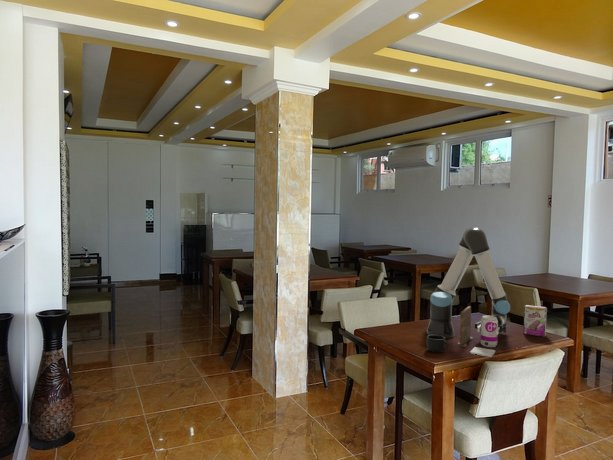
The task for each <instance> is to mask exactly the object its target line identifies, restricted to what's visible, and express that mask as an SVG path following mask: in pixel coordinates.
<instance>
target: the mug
mask: <svg viewBox="0 0 613 460" xmlns="http://www.w3.org/2000/svg"><path fill="white" fill-rule="evenodd" d="M426 349H427V350H428V351H430V352H431V351H432V352H431V353H434V352H440V353H442V352H444V351H448V350H449V344H448V342H447V341H446V338H445V337H443V336H440V335H428V334H427V336H426Z"/></svg>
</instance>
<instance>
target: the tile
mask: <svg viewBox="0 0 613 460" xmlns="http://www.w3.org/2000/svg"><path fill="white" fill-rule="evenodd" d="M469 353H471V355H475V354H477V356H482V357H488V358H492V357H493V356H494V355H495V353H496V349H490V348H484V347H483V348H482V347H478V346H477V347H476V346H474V347H473V348H472V349H471V350H470V351H469Z"/></svg>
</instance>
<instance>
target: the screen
mask: <svg viewBox="0 0 613 460" xmlns="http://www.w3.org/2000/svg"><path fill="white" fill-rule="evenodd" d="M471 317H472V306H470V305H469V306H467V307H465V308H464V309H463V310H462V311H461V312H460V318H459V319H460V321H459V323H460V324H459V341H458V343H457V344H456V345H457V347H460V348H466V347H467V346H468V344H467V343H468V342H469V341H473V338H474V337H473V336H471V325H472V324H471V322H472V318H471Z"/></svg>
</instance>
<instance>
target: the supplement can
mask: <svg viewBox="0 0 613 460" xmlns="http://www.w3.org/2000/svg"><path fill="white" fill-rule="evenodd" d="M480 321H481V331H480V344H481V345H482V346H484V347H487V348H496V346H498V335H496V329H497V328H498V320H497V317H495V316H492V315H487V314H486V315H482V316H481V318H480Z"/></svg>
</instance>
